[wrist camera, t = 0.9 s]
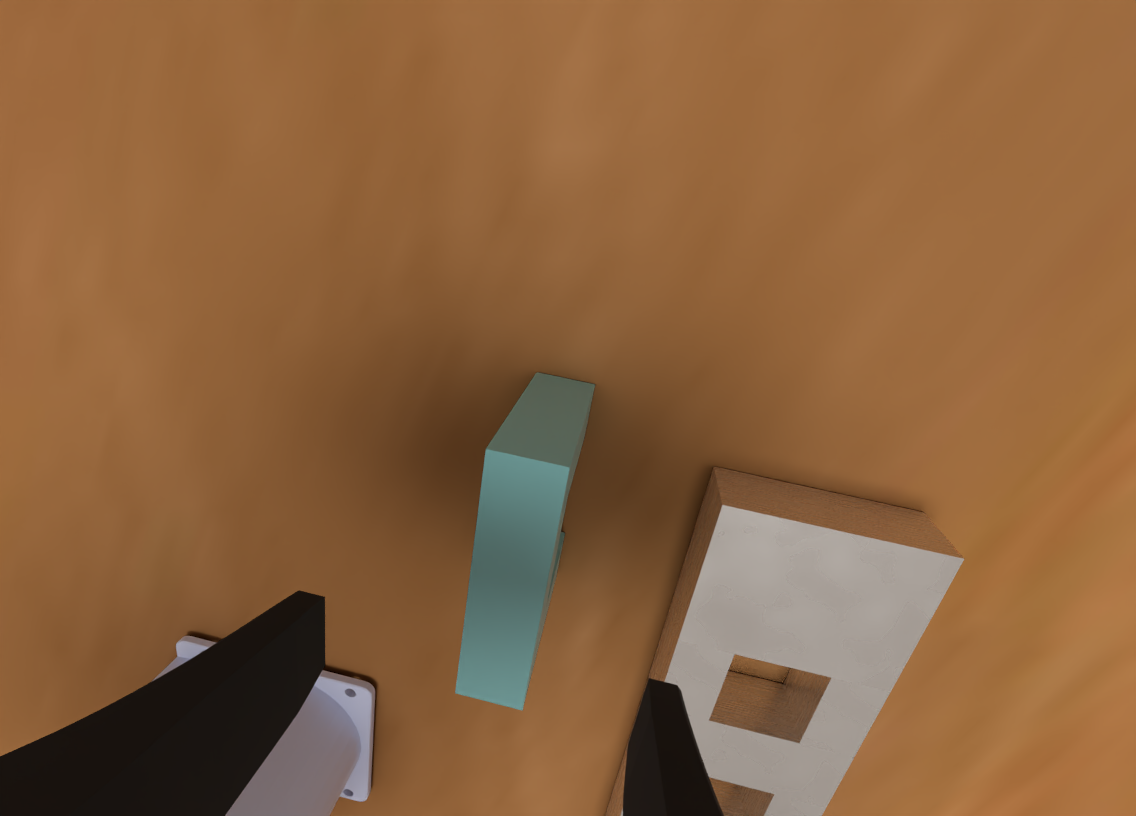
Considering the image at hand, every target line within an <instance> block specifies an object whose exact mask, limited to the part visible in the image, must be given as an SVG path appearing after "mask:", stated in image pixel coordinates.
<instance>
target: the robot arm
mask: <svg viewBox="0 0 1136 816" xmlns="http://www.w3.org/2000/svg"><path fill="white" fill-rule="evenodd" d="M176 650H177V657H176V658H175V659H174V660H173V661H172V662H171V663H170V664H169V665H168V666H167V667H166V668H165V669H164V670H163V671H162V672H161V673H160V674H159V675H158V676H157V677H156V678H155V679H153V680H152V681H151V682H150V683H148V684H147V685H145V686H143V687H142V688H140V689H138V690H136V691H134V692H133V693H131V694H129V695H127V696H125V697H123V698H121V699H120V700H118V701H116V702H114V703H112V704H110V705H108V706H106V707H105V708H103V709H101V710H99V711H97V712H95V713H93V714H91V715H89V716H87V717H85V718H83V719H81V720H79V721H77V722H75V723H73V724H71V725H69V726H67V727H65V728H62V729H60V730H58V731H56V732H54V733H52V734H50V735H47V736H45V737H43V738H41V739H38V740H36V741H34V742H32V743H30V744H27V745H25V746H23V747H21V748H18V749H16V750H14V751H12V752H9V753H7V754H5V755H3V756H0V816H330V814H331V812H332V810H333V808H334V806H335V804H336V802H337V800H338V798H339V797H340V796H341V797H344V798H348V799H351V800H355V801H360V802H362V801H365V800H367V798H368V796H369V794H370V791H371V773H372V751H373V729H374V708H375V689H374V687H373V685H372V684H370V683H369V682H366V681H363V680H359V679H355V678H351V677H348V676H344V675H340V674H336V673H332V672H328V671H324V670H323V668H324V666H325V597H323V596H319V595H315V594H311V593H307V592H303V591H297V592H295V593H294V594H292V595H291V596H289V597H287V598H286V599H284V600H283V601H281V602H280V603H278V604H276V605H275V606H273V607H272V608H270V609H269V610H267V611H266V612H264V613H263V614H261V615H260V616H258V617H256V618H255V619H253V620H252V621H250V622H249V623H247V624H246V625H244V626H242V627H241V628H239V629H238V630H236V631H235V632H233V633H232V634H230V635H228V636H227V637H225V638H224V639H222V640H220V641H219V642H217V643H216V642H212V641H208V640H205V639H201V638H197V637H193V636H184V637H182V638H181V639H180V640H179V641H178V642H177V643H176ZM623 816H724V815H723V812H722V810H721V807H720V805H719V802H718V799H717V797H716V794H715V792H714V789H713V786H712V784H711V781H710V779H709V776H708V773H707V771H706V768H705V765H704V762H703V760H702V757H701V754H700V751H699V748H698V745H697V742H696V739H695V736H694V733H693V730H692V727H691V724H690V720H689V717H688V714H687V710H686V707H685V703H684V700H683V696H682V692H681V690H680V688H679V687H678V685H675V684H671V683H667V682H663V681H659V680H655V679H651V678H648V681H647V684H646V688H645V691H644V694H643V697H642V700H641V704H640V707H639V710H638V713H637V716H636V720H635V723H634V726H633V729H632V732H631V736H630V739H629V742H628V748H627V759H626V769H625V781H624V792H623Z"/></svg>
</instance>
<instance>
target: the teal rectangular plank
mask: <svg viewBox="0 0 1136 816" xmlns="http://www.w3.org/2000/svg"><path fill="white" fill-rule="evenodd" d="M594 388H595V384H591V383H586V382H581V381H577V380H572V379H567V378H562V377H558V376H553V375H548V374H543V373H539V372H537V373H536V374H535V376H534V377H533V379H532V380H531V382H530V383H529V385H528V386H527V388H526V389H525V391H524V392H523V394H522V395H521V397H520V398H519V400H518V401H517V403H516V404H515V406H514V407H513V409H512V410H511V412H510V413H509V415H508V416H507V418H506V419H505V421H504V422H503V424H502V425H501V427H500V428H499V430H498V431H497V433H496V434H495V436H494V437H493V439H492V440H491V442H490V443H489V445H488V446H487V448H486V452H485V460H484V468H483V476H482V484H481V492H480V500H479V508H478V516H477V524H476V532H475V540H474V548H473V556H472V564H471V572H470V580H469V588H468V596H467V604H466V612H465V620H464V628H463V636H462V643H461V651H460V659H459V667H458V675H457V683H456V691H455V693H456V694H460V695H464V696H468V697H472V698H476V699H480V700H484V701H488V702H491V703H495V704H499V705H503V706H507V707H511V708H515V709H519V710H523V706H524V703H525V699H526V695H527V691H528V687H529V683H530V679H531V675H532V671H533V667H534V663H535V659H536V655H537V651H538V647H539V643H540V639H541V635H542V631H543V627H544V624H545V620H546V616H547V612H548V608H549V604H550V600H551V596H552V592H553V588H554V584H555V580H556V576H557V571H558V566H559V562H560V557H561V552H562V547H563V542H564V537H565V533H563V532H561V529H562V524H563V519H564V514H565V509H566V504H567V498H568V494H569V491H570V487H571V484H572V480H573V477H574V473H575V470H576V466H577V463H578V459H579V456H580V452H581V448H582V445H583V441H584V438H585V433H586V428H587V423H588V418H589V413H590V408H591V403H592V398H593V393H594Z"/></svg>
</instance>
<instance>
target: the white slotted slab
mask: <svg viewBox="0 0 1136 816" xmlns="http://www.w3.org/2000/svg"><path fill="white" fill-rule="evenodd" d="M963 560H964V558H963V557H962V556H961V554H960V553H959V552H958V551H957V550H956V549H955V547H954V546H953V545H952V544H951V543H950V542H949V541H948V539H947V538H946V537H945V536H944V535H943V534H942V532H941V531H940V530H939V529H938V528H937V527H936V525H935V524H934V523H933V522H932V521H931V520H930V519H929V517H928V516H927V515H926V514H925V513H924V512H920V511H916V510H911V509H907V508H902V507H897V506H893V505H888V504H884V503H879V502H875V501H870V500H865V499H861V498H856V497H852V496H847V495H843V494H838V493H833V492H829V491H824V490H820V489H815V488H810V487H806V486H801V485H797V484H792V483H788V482H783V481H778V480H774V479H769V478H765V477H760V476H756V475H751V474H746V473H742V472H737V471H733V470H728V469H724V468H719V467H713V470H712V474H711V477H710V480H709V483H708V486H707V490H706V493H705V496H704V499H703V502H702V506H701V509H700V512H699V515H698V519H697V522H696V525H695V528H694V531H693V535H692V538H691V541H690V544H689V547H688V551H687V554H686V557H685V560H684V564H683V567H682V570H681V573H680V576H679V580H678V583H677V586H676V589H675V592H674V596H673V599H672V602H671V605H670V608H669V612H668V615H667V618H666V621H665V625H664V628H663V631H662V634H661V637H660V641H659V644H658V647H657V650H656V653H655V657H654V660H653V663H652V666H651V670H650V673H649V676H648V678H651V679H655V680H659V681H663V682H667V683H671V684H675V685H678V687H679V688H680V690H681V692H682V696H683V700H684V703H685V707H686V710H687V714H688V717H689V720H690V724H691V727H692V730H693V733H694V736H695V739H696V742H697V745H698V748H699V751H700V754H701V757H702V760H703V762H704V765H705V768H706V771H707V773H708V776H709V779H710V781H711V784H712V786H713V789H714V792H715V794H716V797H717V799H718V802H719V805H720V807H721V810H722V812H723V815H724V816H822V814H823V812H824V811H825V809H826V807H827V805H828V803H829V802H830V800H831V798H832V796H833V794H834V793H835V791H836V789H837V787H838V785H839V784H840V782H841V780H842V778H843V776H844V775H845V773H846V771H847V769H848V767H849V766H850V764H851V762H852V760H853V758H854V757H855V755H856V753H857V751H858V749H859V748H860V746H861V744H862V742H863V740H864V739H865V737H866V735H867V733H868V731H869V730H870V728H871V726H872V724H873V722H874V721H875V719H876V717H877V715H878V713H879V712H880V710H881V708H882V706H883V704H884V703H885V701H886V699H887V697H888V695H889V694H890V692H891V690H892V688H893V686H894V685H895V683H896V681H897V679H898V677H899V676H900V674H901V672H902V670H903V668H904V667H905V665H906V663H907V661H908V659H909V658H910V656H911V654H912V652H913V650H914V649H915V647H916V645H917V643H918V641H919V640H920V638H921V636H922V634H923V632H924V631H925V629H926V627H927V625H928V623H929V622H930V620H931V618H932V616H933V614H934V613H935V611H936V609H937V607H938V605H939V604H940V602H941V600H942V598H943V596H944V595H945V593H946V591H947V589H948V587H949V586H950V584H951V582H952V580H953V578H954V577H955V575H956V573H957V571H958V569H959V568H960V566H961V564H962V562H963ZM734 654H736V655H740V656H744V657H748V658H753V659H757V660H761V661H765V662H769V663H773V664H777V665H781V666H786V667H790V671H789V673H788V675H787V677H786V680H785V682H784V684H781V683H776V682H772V681H768V680H764V679H760V678H756V677H752V676H748V675H744V674H740V673H736V672H732V671H728V670H729V667H730V665H731V662H732V659H733V657H734ZM647 681H648V679H647ZM646 684H647V682H646ZM645 688H646V686H645ZM644 691H645V689H644ZM643 694H644V692H643ZM642 697H643V695H642ZM641 700H642V698H641ZM640 704H641V702H640ZM639 707H640V705H639ZM638 710H639V708H638ZM637 713H638V711H637ZM636 716H637V714H636ZM635 720H636V718H635ZM634 723H635V721H634ZM633 726H634V724H633ZM632 729H633V727H632ZM631 732H632V731H631ZM630 736H631V734H630ZM629 739H630V737H629ZM628 742H629V740H628ZM627 748H628V743H627V747H626V750H625V753H624V756H623V759H622V763H621V766H620V769H619V772H618V776H617V779H616V782H615V785H614V788H613V792H612V795H611V798H610V801H609V804H608V808H607V811H606V814H605V816H623V792H624V781H625V769H626V759H627Z"/></svg>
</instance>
